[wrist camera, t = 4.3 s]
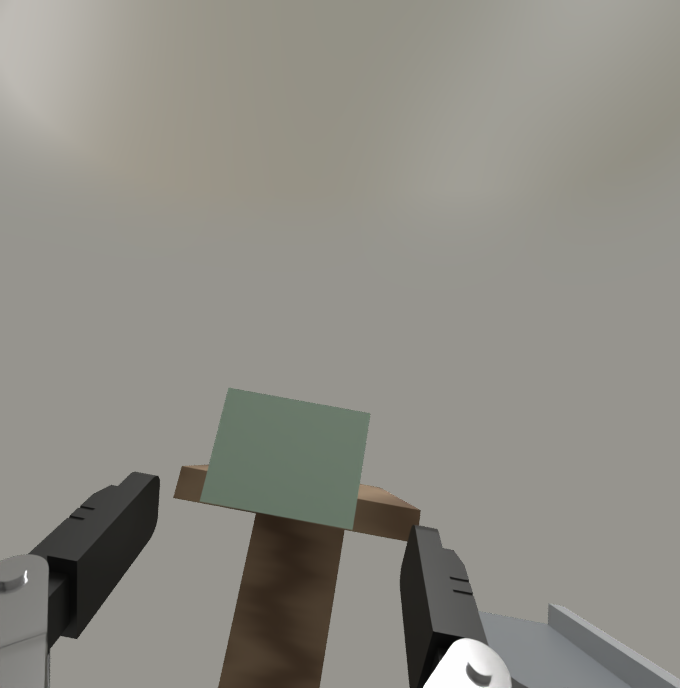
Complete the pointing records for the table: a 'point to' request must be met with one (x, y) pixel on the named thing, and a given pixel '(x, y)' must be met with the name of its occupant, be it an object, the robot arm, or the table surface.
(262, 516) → the brown pedestal stand
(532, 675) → the gray pedestal stand
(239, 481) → the slide box
